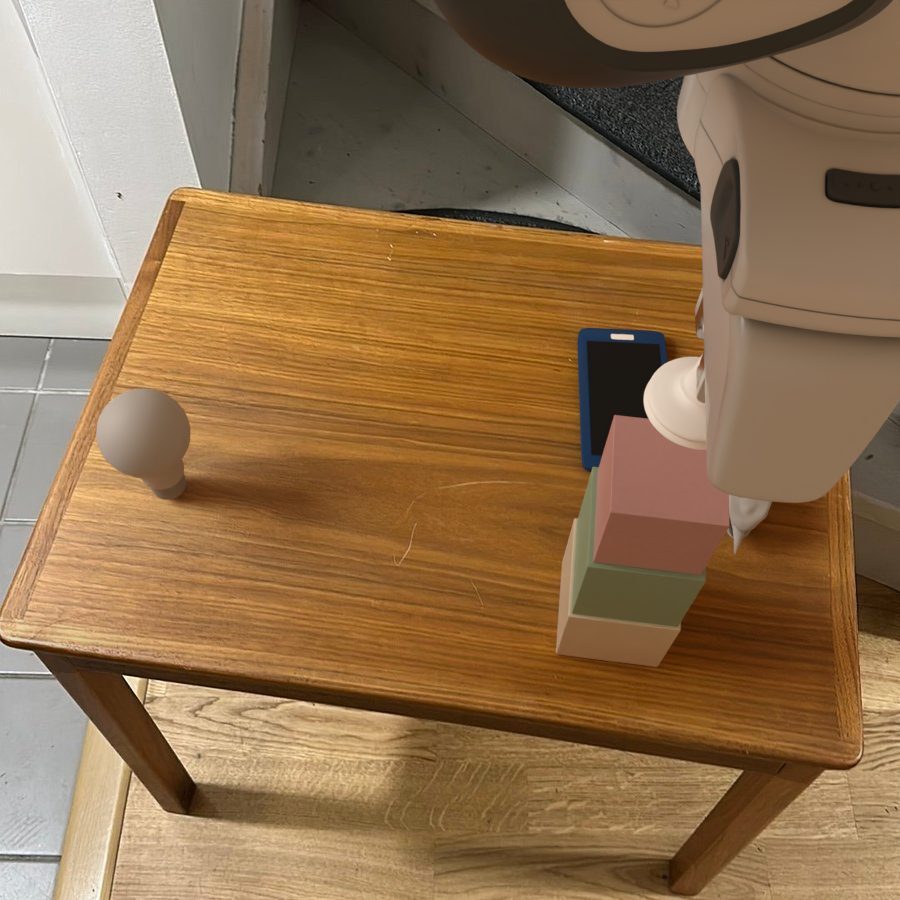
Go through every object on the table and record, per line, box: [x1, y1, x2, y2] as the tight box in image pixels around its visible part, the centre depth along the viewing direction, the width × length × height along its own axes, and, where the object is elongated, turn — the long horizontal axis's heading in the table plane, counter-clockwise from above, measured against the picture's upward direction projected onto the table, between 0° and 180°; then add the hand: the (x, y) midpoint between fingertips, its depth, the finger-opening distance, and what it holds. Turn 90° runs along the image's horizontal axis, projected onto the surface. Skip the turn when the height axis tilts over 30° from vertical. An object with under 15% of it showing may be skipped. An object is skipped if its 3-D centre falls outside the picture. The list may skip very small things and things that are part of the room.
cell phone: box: [576, 327, 669, 473], centre depth 74 cm, size 7×14×1 cm, turn 177°
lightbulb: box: [95, 387, 191, 501], centre depth 65 cm, size 6×6×11 cm
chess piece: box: [644, 323, 706, 450], centre depth 39 cm, size 5×5×10 cm
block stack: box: [555, 415, 730, 668], centre depth 57 cm, size 7×7×20 cm
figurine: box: [726, 494, 773, 555], centre depth 67 cm, size 4×8×5 cm, turn 165°
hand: (714, 359), depth 40 cm, fingers closed on chess piece
